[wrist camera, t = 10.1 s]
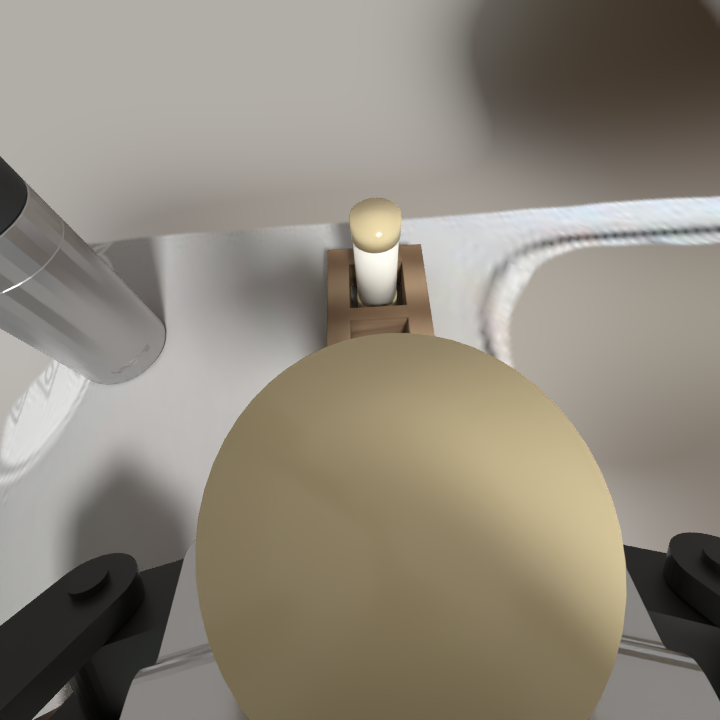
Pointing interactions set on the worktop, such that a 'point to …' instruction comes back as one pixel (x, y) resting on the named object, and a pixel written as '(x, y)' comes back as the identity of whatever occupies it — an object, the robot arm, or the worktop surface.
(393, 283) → the cylinder
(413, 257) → the fuse holder
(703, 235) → the worktop surface
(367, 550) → the cylinder
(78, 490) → the worktop surface
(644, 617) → the robot arm
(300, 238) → the worktop surface
